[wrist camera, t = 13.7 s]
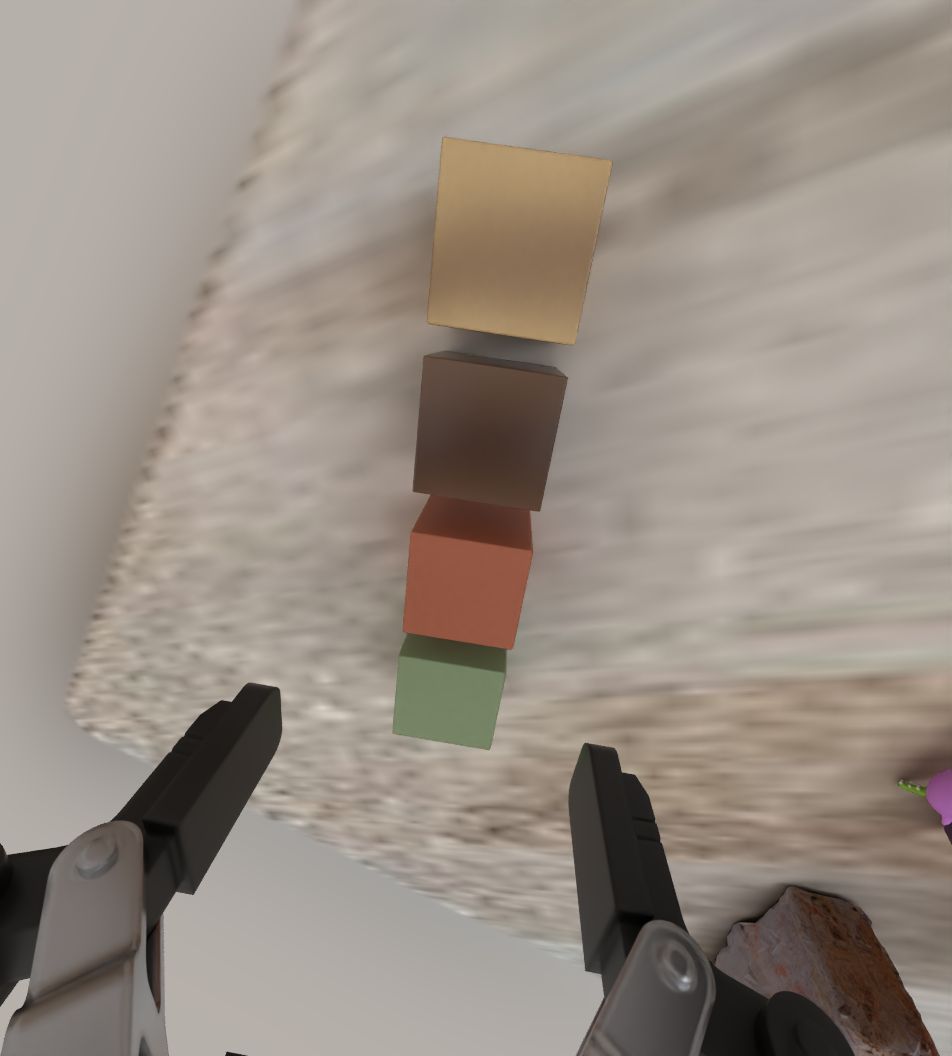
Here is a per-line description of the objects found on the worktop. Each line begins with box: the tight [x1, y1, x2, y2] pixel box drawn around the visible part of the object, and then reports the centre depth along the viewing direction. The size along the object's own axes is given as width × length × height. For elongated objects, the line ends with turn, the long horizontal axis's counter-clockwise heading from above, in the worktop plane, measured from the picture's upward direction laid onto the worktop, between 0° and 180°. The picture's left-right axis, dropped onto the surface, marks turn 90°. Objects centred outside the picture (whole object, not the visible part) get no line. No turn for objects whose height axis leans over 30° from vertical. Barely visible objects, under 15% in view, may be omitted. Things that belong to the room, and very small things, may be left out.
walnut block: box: [413, 351, 568, 512], centre depth 19 cm, size 5×5×5 cm
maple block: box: [427, 137, 613, 345], centre depth 16 cm, size 5×5×5 cm
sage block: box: [393, 633, 507, 750], centre depth 24 cm, size 5×5×5 cm
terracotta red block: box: [403, 495, 533, 650], centre depth 21 cm, size 5×5×5 cm
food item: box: [712, 886, 939, 1056], centre depth 30 cm, size 14×8×10 cm, turn 164°
